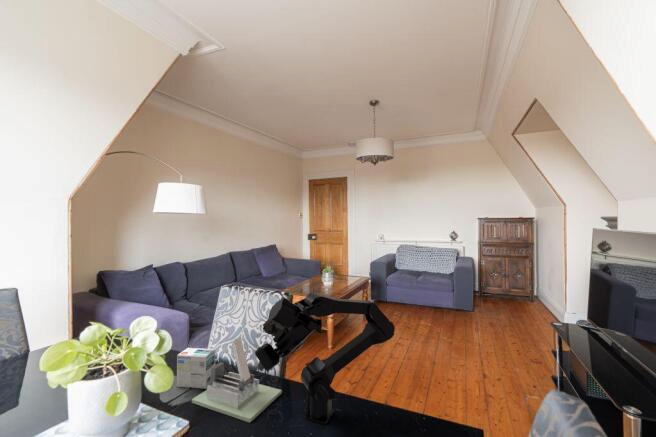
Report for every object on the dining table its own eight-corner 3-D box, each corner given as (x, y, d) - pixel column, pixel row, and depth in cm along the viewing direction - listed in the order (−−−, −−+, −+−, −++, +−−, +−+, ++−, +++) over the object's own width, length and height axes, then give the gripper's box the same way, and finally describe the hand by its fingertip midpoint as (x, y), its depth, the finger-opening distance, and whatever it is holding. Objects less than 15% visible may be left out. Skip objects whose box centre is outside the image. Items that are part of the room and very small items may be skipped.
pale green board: (281, 393, 97) (281, 390, 97) (249, 422, 82) (250, 418, 82) (228, 378, 105) (228, 375, 105) (191, 402, 91) (191, 399, 91)
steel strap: (248, 382, 93) (252, 382, 92) (241, 387, 90) (246, 386, 89) (237, 338, 95) (241, 337, 94) (230, 341, 92) (234, 340, 92)
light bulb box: (215, 379, 105) (216, 348, 105) (206, 389, 98) (206, 356, 99) (186, 377, 106) (187, 346, 106) (175, 387, 99) (176, 354, 100)
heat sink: (258, 391, 95) (259, 366, 96) (237, 409, 86) (238, 380, 86) (226, 382, 101) (226, 358, 101) (203, 398, 92) (203, 371, 92)
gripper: (296, 302, 96) (267, 331, 100) (261, 318, 79) (228, 352, 83) (318, 330, 92) (287, 359, 96) (286, 353, 75) (250, 387, 79)
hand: (264, 363), depth 89 cm, fingers open, 6 cm apart
